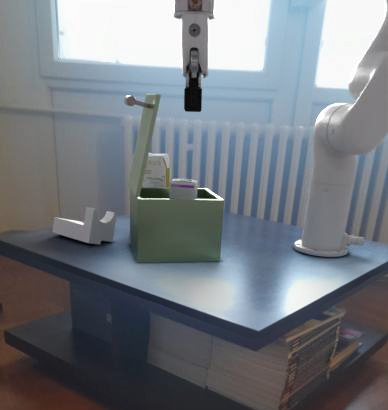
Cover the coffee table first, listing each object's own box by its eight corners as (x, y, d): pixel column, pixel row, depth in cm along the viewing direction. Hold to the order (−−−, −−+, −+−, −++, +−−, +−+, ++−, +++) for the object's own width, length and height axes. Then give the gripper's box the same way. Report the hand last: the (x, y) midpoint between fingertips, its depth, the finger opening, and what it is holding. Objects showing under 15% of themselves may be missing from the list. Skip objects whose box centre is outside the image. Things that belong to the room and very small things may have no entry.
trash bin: (203, 243, 120) (207, 188, 114) (219, 261, 107) (224, 200, 101) (130, 244, 116) (129, 186, 110) (137, 262, 103) (137, 199, 97)
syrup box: (193, 251, 109) (198, 182, 103) (166, 249, 109) (169, 180, 103) (194, 246, 114) (199, 179, 108) (168, 244, 114) (171, 177, 108)
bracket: (111, 246, 117) (117, 213, 115) (88, 243, 111) (94, 208, 110) (75, 235, 124) (80, 204, 122) (52, 232, 118) (56, 199, 117)
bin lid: (149, 95, 103) (124, 87, 101) (161, 95, 90) (131, 86, 89) (131, 185, 110) (107, 179, 108) (139, 197, 97) (111, 190, 96)
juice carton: (162, 239, 121) (164, 156, 113) (128, 235, 123) (128, 153, 115) (170, 232, 128) (173, 153, 120) (138, 229, 129) (138, 150, 121)
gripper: (218, 1, 84) (213, 112, 92) (212, 15, 100) (208, 110, 107) (173, -1, 84) (173, 111, 92) (174, 14, 100) (173, 109, 107)
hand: (192, 111), depth 100 cm, fingers open, 9 cm apart
